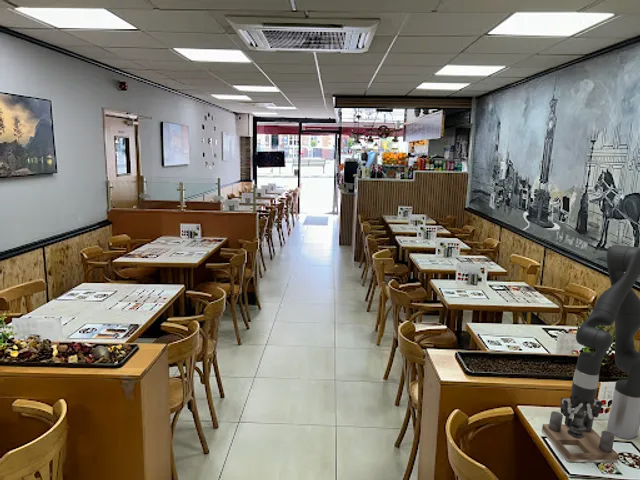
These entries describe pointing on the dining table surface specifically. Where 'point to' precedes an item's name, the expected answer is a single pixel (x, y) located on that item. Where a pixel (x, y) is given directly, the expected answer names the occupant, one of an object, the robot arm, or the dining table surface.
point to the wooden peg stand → (580, 442)
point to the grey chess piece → (577, 425)
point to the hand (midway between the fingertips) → (576, 426)
